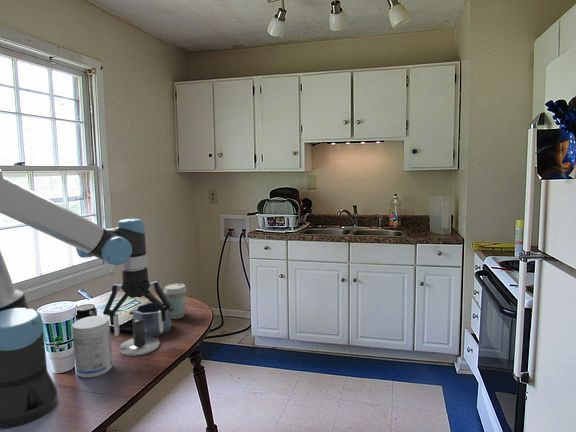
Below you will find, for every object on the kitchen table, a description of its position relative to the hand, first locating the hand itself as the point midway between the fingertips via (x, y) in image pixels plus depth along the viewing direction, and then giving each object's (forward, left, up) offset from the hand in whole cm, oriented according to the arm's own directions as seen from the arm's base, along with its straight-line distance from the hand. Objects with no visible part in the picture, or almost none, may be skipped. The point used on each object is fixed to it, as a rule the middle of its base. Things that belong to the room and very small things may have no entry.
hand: (139, 332), depth 129 cm
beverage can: (+8, +18, -5) cm, 20 cm away
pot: (+14, -2, -5) cm, 15 cm away
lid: (0, 0, -5) cm, 5 cm away
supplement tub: (-13, +10, -5) cm, 17 cm away
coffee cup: (+25, -9, -5) cm, 27 cm away
